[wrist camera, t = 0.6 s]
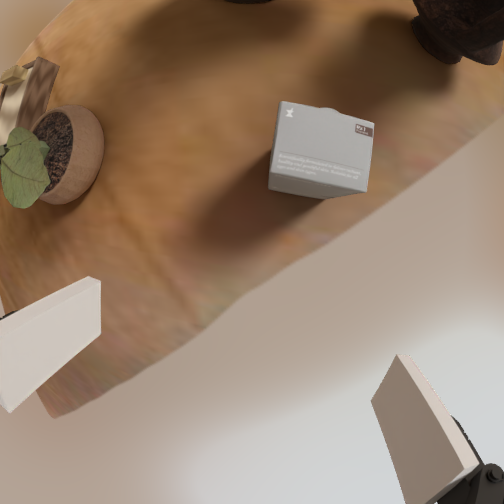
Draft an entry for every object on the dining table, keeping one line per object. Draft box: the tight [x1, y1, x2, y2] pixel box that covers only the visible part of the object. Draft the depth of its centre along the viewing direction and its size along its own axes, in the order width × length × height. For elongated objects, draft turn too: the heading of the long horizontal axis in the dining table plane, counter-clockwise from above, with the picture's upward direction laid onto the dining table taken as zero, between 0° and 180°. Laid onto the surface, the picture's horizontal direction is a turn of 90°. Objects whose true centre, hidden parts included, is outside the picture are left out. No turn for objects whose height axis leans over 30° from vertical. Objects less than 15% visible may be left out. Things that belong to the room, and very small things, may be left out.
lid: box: [0, 65, 33, 146], centre depth 29 cm, size 19×10×5 cm, turn 171°
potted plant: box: [0, 105, 104, 208], centre depth 23 cm, size 22×18×30 cm
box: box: [0, 57, 60, 130], centre depth 33 cm, size 22×13×7 cm, turn 171°
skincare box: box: [268, 101, 374, 199], centre depth 27 cm, size 8×7×16 cm
